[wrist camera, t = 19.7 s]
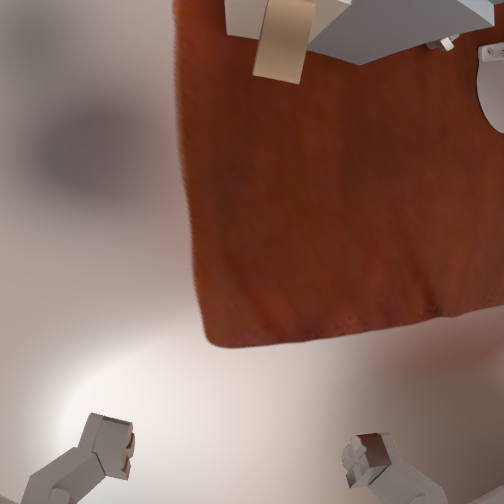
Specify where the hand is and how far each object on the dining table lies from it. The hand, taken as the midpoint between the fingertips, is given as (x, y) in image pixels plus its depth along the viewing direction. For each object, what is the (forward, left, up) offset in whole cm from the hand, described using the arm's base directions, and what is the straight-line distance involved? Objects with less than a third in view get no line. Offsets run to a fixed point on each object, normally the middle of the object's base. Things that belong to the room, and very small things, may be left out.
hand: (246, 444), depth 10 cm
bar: (-17, -15, -17) cm, 28 cm away
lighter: (-38, -3, -35) cm, 52 cm away
